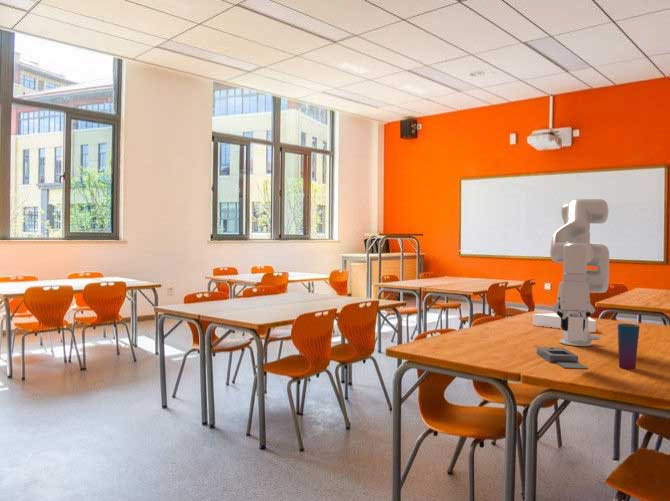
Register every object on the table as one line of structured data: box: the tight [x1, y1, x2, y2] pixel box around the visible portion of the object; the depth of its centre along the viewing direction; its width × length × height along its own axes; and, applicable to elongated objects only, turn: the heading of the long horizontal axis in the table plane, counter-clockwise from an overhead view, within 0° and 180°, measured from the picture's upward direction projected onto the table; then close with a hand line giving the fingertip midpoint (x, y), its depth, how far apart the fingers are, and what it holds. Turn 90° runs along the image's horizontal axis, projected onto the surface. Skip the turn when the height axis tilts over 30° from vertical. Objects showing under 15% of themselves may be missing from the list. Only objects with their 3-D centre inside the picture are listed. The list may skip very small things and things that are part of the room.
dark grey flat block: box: [536, 346, 579, 363], centre depth 208 cm, size 10×15×3 cm, turn 177°
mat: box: [555, 362, 589, 370], centre depth 195 cm, size 8×8×1 cm
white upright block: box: [562, 314, 583, 340], centre depth 195 cm, size 5×5×9 cm
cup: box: [617, 322, 640, 370], centre depth 194 cm, size 7×7×15 cm
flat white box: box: [532, 312, 597, 334], centre depth 283 cm, size 30×26×6 cm
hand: (572, 329), depth 195 cm, fingers closed on white upright block, 5 cm apart
